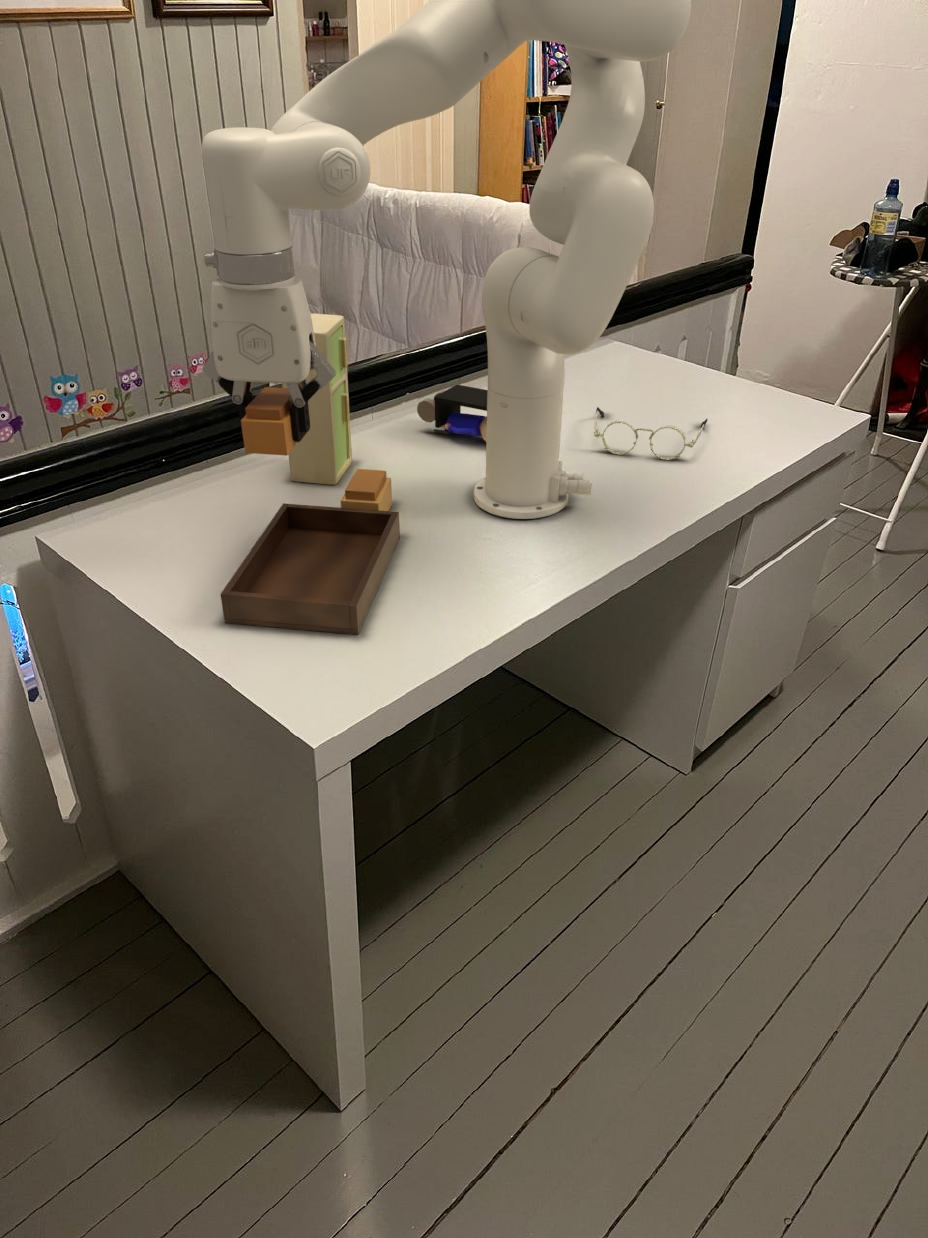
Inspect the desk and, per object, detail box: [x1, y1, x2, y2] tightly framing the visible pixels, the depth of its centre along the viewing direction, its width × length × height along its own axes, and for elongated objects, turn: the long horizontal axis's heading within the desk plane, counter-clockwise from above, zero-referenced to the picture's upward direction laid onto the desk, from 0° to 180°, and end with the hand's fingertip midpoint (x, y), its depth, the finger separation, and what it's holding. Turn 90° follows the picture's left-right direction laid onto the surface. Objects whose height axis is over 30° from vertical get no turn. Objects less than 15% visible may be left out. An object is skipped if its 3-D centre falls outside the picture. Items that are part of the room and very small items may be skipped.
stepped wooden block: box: [340, 468, 393, 511], centre depth 120 cm, size 5×8×5 cm, turn 172°
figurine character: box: [416, 384, 488, 442], centre depth 142 cm, size 7×8×15 cm
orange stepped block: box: [240, 386, 297, 457], centre depth 104 cm, size 5×8×5 cm, turn 171°
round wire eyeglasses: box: [593, 406, 708, 461], centre depth 142 cm, size 17×15×5 cm
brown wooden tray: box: [219, 502, 401, 635], centre depth 108 cm, size 15×22×4 cm
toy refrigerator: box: [281, 312, 353, 486], centre depth 127 cm, size 8×7×21 cm
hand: (276, 434), depth 105 cm, fingers closed on orange stepped block, 4 cm apart
